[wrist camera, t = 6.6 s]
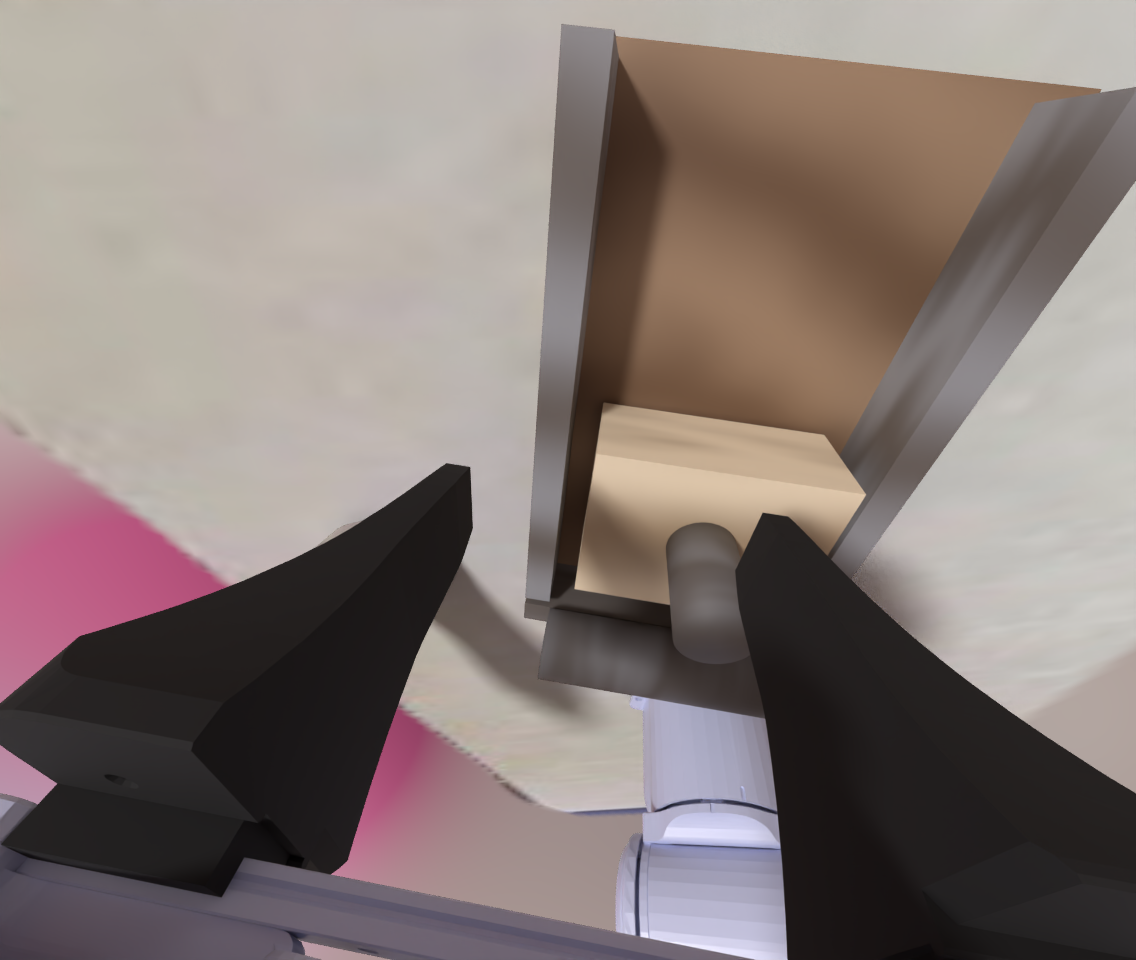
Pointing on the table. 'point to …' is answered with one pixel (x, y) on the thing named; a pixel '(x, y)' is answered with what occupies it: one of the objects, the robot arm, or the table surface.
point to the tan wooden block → (700, 513)
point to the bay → (787, 284)
